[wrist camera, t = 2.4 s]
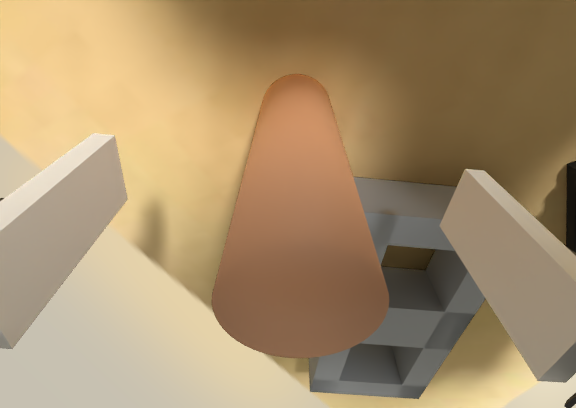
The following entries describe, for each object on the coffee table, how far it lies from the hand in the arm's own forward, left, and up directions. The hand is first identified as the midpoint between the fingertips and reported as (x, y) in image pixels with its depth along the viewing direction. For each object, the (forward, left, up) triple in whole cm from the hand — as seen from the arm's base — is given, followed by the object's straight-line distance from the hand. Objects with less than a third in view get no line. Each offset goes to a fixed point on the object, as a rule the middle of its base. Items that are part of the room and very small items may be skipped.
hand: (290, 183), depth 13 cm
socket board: (+14, +9, -8) cm, 18 cm away
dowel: (0, 0, -8) cm, 8 cm away
